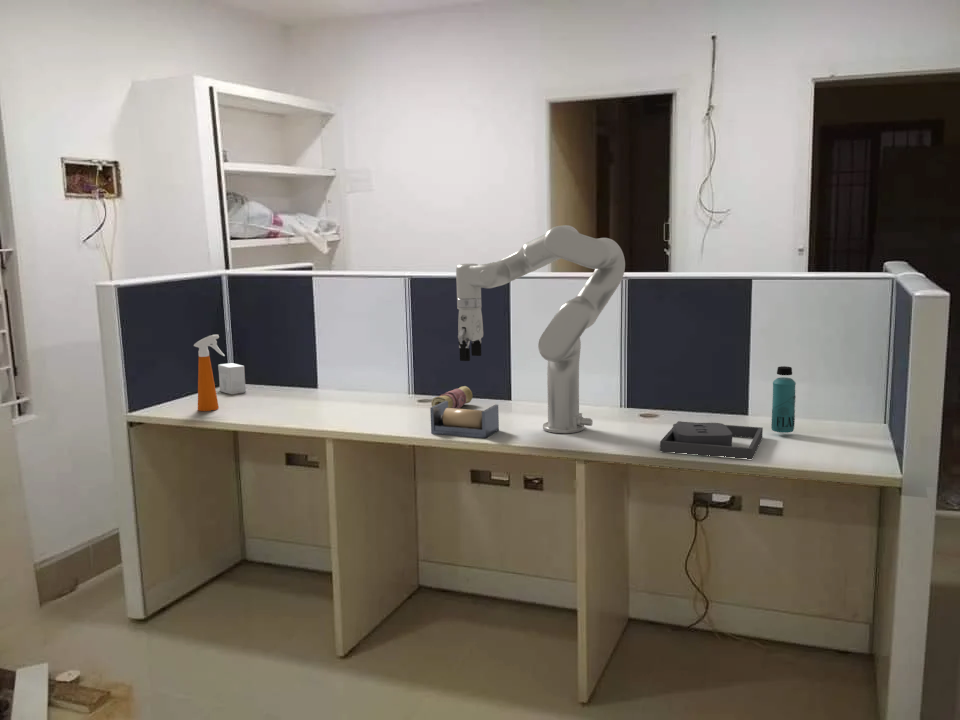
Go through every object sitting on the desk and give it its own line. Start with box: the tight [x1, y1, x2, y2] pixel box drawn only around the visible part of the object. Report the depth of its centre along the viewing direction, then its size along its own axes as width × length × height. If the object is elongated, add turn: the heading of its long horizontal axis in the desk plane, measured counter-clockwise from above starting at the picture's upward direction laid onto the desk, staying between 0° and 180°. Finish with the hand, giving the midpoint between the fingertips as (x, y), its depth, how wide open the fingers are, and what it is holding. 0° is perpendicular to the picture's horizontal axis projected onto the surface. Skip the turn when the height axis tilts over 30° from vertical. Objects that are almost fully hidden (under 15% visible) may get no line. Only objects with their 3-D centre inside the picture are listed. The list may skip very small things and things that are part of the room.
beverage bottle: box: [770, 365, 797, 434], centre depth 248 cm, size 6×7×20 cm
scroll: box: [431, 385, 473, 409], centre depth 291 cm, size 8×8×20 cm
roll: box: [443, 407, 483, 429], centre depth 261 cm, size 12×6×6 cm, turn 66°
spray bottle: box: [193, 334, 226, 412], centre depth 301 cm, size 7×11×26 cm, turn 90°
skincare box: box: [217, 362, 247, 395], centre depth 332 cm, size 10×6×10 cm, turn 40°
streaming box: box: [672, 422, 733, 446], centre depth 239 cm, size 14×14×5 cm
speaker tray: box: [659, 421, 764, 460], centre depth 241 cm, size 24×24×3 cm
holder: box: [429, 401, 500, 439], centre depth 261 cm, size 18×10×8 cm, turn 66°
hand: (470, 358), depth 270 cm, fingers open, 9 cm apart
